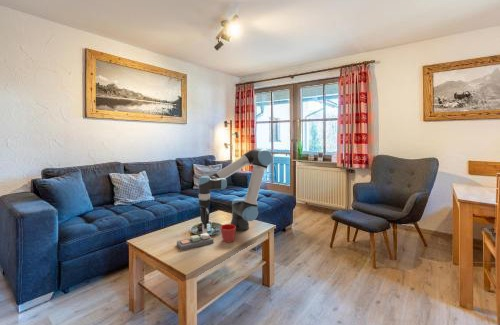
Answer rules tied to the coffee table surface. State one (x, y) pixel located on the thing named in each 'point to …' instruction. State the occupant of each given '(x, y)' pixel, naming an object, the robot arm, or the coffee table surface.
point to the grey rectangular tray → (194, 243)
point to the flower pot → (228, 232)
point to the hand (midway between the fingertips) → (204, 232)
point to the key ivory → (205, 236)
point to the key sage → (195, 238)
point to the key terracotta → (184, 242)
